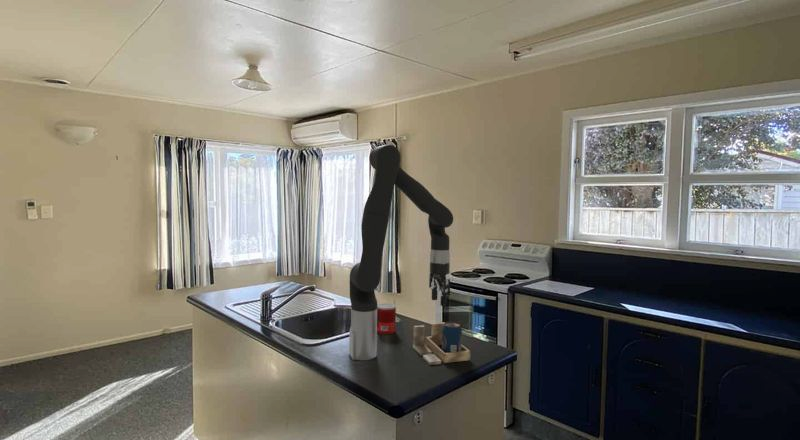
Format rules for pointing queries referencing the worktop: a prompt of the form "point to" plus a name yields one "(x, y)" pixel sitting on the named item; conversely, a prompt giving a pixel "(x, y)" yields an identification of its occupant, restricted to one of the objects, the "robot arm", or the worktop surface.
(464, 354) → the wooden caddy
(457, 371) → the worktop surface
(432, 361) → the wooden l-shaped bracket
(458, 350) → the soda can
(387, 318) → the canned food
